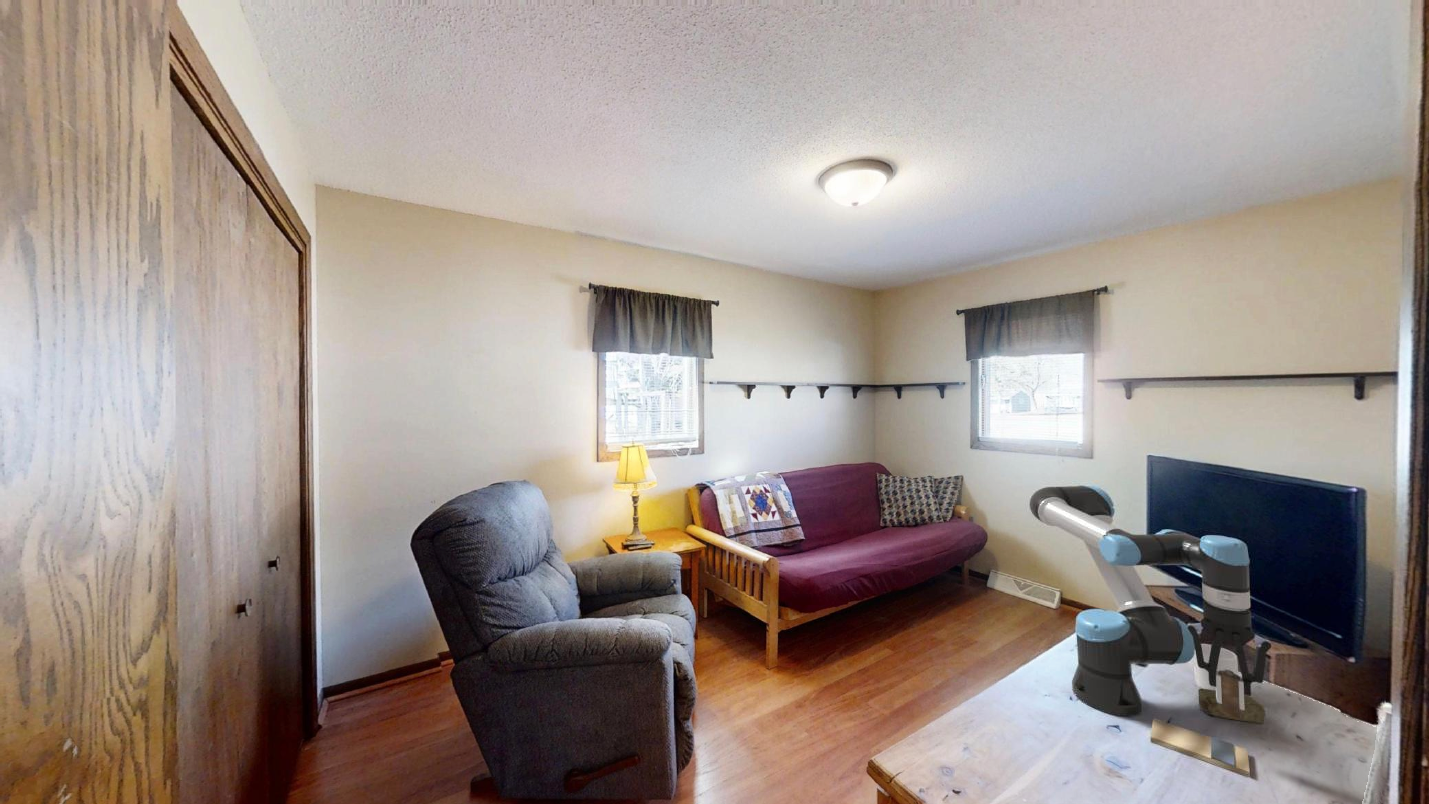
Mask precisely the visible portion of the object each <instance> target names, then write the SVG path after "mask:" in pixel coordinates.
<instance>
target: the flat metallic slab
mask: <svg viewBox="0 0 1429 804" xmlns="http://www.w3.org/2000/svg"><path fill="white" fill-rule="evenodd" d="M1152 719H1153V720H1152V723H1151V725H1152V726H1151V731H1150V742H1151V743H1154V744H1156V745H1159V746H1162V747H1164V748H1167V749H1170V750H1173V751H1177V752H1178V753H1181V754H1184V755H1187V756H1190V757H1193V758H1195V759H1199V760H1201V761H1204V762H1206V763H1209V764H1212V765H1215V766H1217V767H1220V768H1223V769H1226V770H1228V771H1231V772H1235V773H1236V774H1239V775H1243V776H1245V777H1248V778H1251V773H1250V770H1251V769H1250V763H1249V752H1248V749H1246V748H1243V747H1239V746H1237V745H1234V743H1232V742H1229V741H1226V740H1223V739H1219V738H1218V737H1214V736H1207V735H1203V734H1201V733H1199V732H1196V731H1193V730H1189V729H1186V728H1183V727H1180V726H1177V725H1175V724H1171V723H1168V722H1166V721H1161V720H1159V719H1156V718H1152Z"/></svg>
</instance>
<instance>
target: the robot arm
mask: <svg viewBox="0 0 1429 804" xmlns="http://www.w3.org/2000/svg"><path fill="white" fill-rule="evenodd" d="M1114 506H1115V505H1114V502H1113V500H1112V499H1111V497H1110V495H1109V494H1108V493H1107V492H1106V491H1105V490H1104V489H1102V488H1100V487H1098V486H1093V485H1083V484H1082V485H1080V484H1079V485H1076V486H1075V485H1074V486H1073V485H1072V486H1069V485H1067V486H1047V487H1042V488H1040V489H1038V490H1036V491H1035V492H1034V493H1033V494H1032V495H1031V497H1030V500H1029V509H1030V511H1031V512H1030V513H1031V514H1032V515H1033V516H1034V517H1035V518H1036V519H1037V520H1038V521H1039V522H1041V523H1043V524H1044V525H1047V526H1050V527H1057V528H1059V529H1061V530H1063V531H1065V532H1067V533H1069V534H1071V535H1072V536H1074V537H1076V538H1077V539H1080V540H1082V541H1083V543H1084V544H1085V546H1086V549H1088V552H1089V554H1090V556H1091V558H1092V560H1093V562H1094V563H1095V565H1096V567H1097V569H1098V571H1099V573H1100V575H1101V577H1102V578H1103V580H1104V582H1105V584H1106V586H1107V589H1108V590H1109V592H1110V594H1111V595H1112V597H1113V600H1114V602H1115V603H1116V606H1117V607H1118V609H1117V610H1116V611H1114V610H1110V609H1109V610H1108V609H1107V610H1104V609H1103V608H1091V609H1086V610H1083V611H1081V612H1079V613H1078V614H1077V615H1076V617H1075V629H1074V630H1075V633H1076V648H1077V651H1076V652H1077V662H1078V664H1077V667H1076V669H1075V672H1074V675H1073V677H1072V680H1071V690H1072V693H1073V692H1074V693H1073V695H1075V694H1076V695H1075V697H1076V696H1078V697H1077V699H1078V700H1080V699H1081V700H1082V702H1083V701H1084V702H1085V703H1084V702H1083V703H1084V704H1086V703H1087V704H1086V705H1088V706H1090V707H1091V708H1094V709H1095V710H1099V711H1101V712H1105V713H1108V714H1111V715H1118V716H1125V717H1128V716H1129V717H1130V716H1131V717H1132V716H1138V715H1139V714H1141V713H1142V712H1143V710H1144V709H1143V700H1142V697H1141V695H1140V693H1139V690H1138V687H1137V685H1136V684H1135V681H1134V679H1133V672H1132V670H1133V669H1132V665H1134V664H1135V665H1136V664H1137V665H1139V664H1140V665H1148V664H1149V665H1169V666H1171V665H1172V666H1173V665H1176V664H1178V665H1179V664H1187V663H1189V662H1190V661H1191V660H1192V659H1194V657H1193V656H1194V653H1195V652H1196V658H1197V663H1198V666H1199V667H1200V668H1203V669H1205V670H1207V671H1208V676H1209V684H1210V686H1214V687H1216V699H1217V703H1220V704H1222V692H1221V676H1220V675H1219V671H1217V666H1218V660H1219V655H1220V649H1221V648H1222V645H1228V646H1231V647H1234V650H1235V655H1236V656H1237V663H1238V667H1239V669H1240V674H1241V676H1240V675H1238V676H1239V677H1240V680H1239V681H1238V683H1239V708H1240V709H1241V710H1245V708H1244V695H1246V696H1250V697H1251V695H1252V683H1258V684H1263V683H1264V675H1265V668H1266V659H1267V658H1266V657H1267V652H1268V651H1270V649H1271V648H1272V643H1271V641H1270V639H1268V638H1267V637H1261V636H1259V635H1257V634H1256V633H1255V631H1254V629H1252V612H1251V610H1250V608H1251V593H1250V592H1251V589H1250V588H1251V587H1250V562H1251V561H1250V560H1251V559H1250V557H1249V552H1248V551H1249V550H1248V546H1247V544H1246V543H1245V542H1244V541H1242V540H1240V539H1238V538H1234V537H1229V536H1225V535H1214V534H1213V535H1212V534H1211V535H1210V534H1207V535H1204V536H1202V537H1201V538H1199V537H1196V536H1194V535H1190V534H1188V533H1186V532H1183V531H1180V530H1179V531H1178V530H1174V529H1161V530H1160V531H1158V532H1156V533H1155V534H1153V533H1152V534H1132V533H1130V532H1128V531H1126V530H1123V529H1121V528H1118V527H1116V526H1114V525H1113V524H1112V523H1113V521H1114V519H1113V517H1114V516H1115V508H1114ZM1179 565H1180V566H1181V565H1182V566H1187V567H1189V568H1192V569H1194V570H1197V571H1200V572H1201V585H1202V586H1201V587H1202V590H1201V591H1202V592H1201V593H1202V599H1203V601H1202V613H1203V614H1202V615H1203V616H1202V617H1203V618H1202V619H1201V620H1200V622H1197V623H1193V622H1187V624H1186V623H1185V622H1184V621H1182V620H1181V619H1180V618H1178V617H1175V616H1170V614H1169V612H1168V611H1167V609H1166V608H1165V606H1164V605H1161V604H1158V603H1157V602H1155V601H1154V599H1153V597H1152V595H1151V594H1150V592H1149V590H1148V589H1147V586H1146V585H1145V583H1144V582H1143V580H1142V579H1141V577H1140V574H1139V573H1138V571H1137V569H1136V568H1135V566H1137V567H1138V566H1179ZM1203 630H1204V631H1205V632H1206V633H1207V635H1209V636H1210V638H1211V640H1212V641H1211V645H1212V646H1211V651H1210V657H1209V663H1206V662H1204V658H1203V652H1202V647H1201V644H1202V643H1201V637H1200V635H1201V634H1202V631H1203ZM1253 640H1254V645H1255V646H1256V647H1255V656H1254V664H1253V673H1250V672H1249V669H1248V668H1249V667H1248V663H1247V660H1246V656H1245V650H1244V646H1245V645H1246V644H1248V643H1249V642H1250V641H1253ZM1194 650H1195V652H1194ZM1081 700H1080V701H1081Z"/></svg>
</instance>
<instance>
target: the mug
mask: <svg viewBox="0 0 1429 804" xmlns="http://www.w3.org/2000/svg"><path fill="white" fill-rule="evenodd" d="M1211 646H1212V644H1208V643H1201V647H1202V652H1203V658H1204V662H1206V663H1209V657H1210V651H1211ZM1194 652H1195V650H1194ZM1193 669H1194V671H1193V672H1194V681H1195V684H1196V686H1198V688H1199V689H1209V690H1216V687H1214V686H1210V684H1209V676H1208V671H1207V670H1205V669H1203V668H1200V667H1199V666H1198V663H1197V658H1196V652H1195V653H1194V656H1193ZM1221 670H1223V671H1225V670H1230V671H1232V672H1234V674H1236V675H1238V676H1239V662H1238V658H1237V654H1236V653H1234V652H1233V651H1231V650H1229V649H1226V648H1223V647H1221V649H1220V655H1219V660H1218V666H1217V671H1221Z"/></svg>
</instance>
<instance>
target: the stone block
mask: <svg viewBox="0 0 1429 804" xmlns="http://www.w3.org/2000/svg"><path fill="white" fill-rule="evenodd" d="M1197 691H1198V693H1197V694H1198V697H1197V698H1198V706H1199V708H1201V710H1202V711H1205V712H1206V713H1207V715H1211V716H1213V717H1216V718H1223V719H1229V720H1235V721H1240V722H1241V721H1242V722H1249V723H1255V724H1263V723H1265V720H1266V711H1265V707H1264V706H1263V704H1261V703H1260V702H1259V701H1258V700H1256V699H1255V698H1254V697H1252V696H1251V695H1250V696H1248V695H1244V708H1245V710H1241V717H1240V718H1235V717H1231V716H1228V715H1226V714H1224V713H1222V712H1221V711H1220V703H1217V699H1216V690H1209V689H1202V688H1199V689H1198V690H1197Z"/></svg>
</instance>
